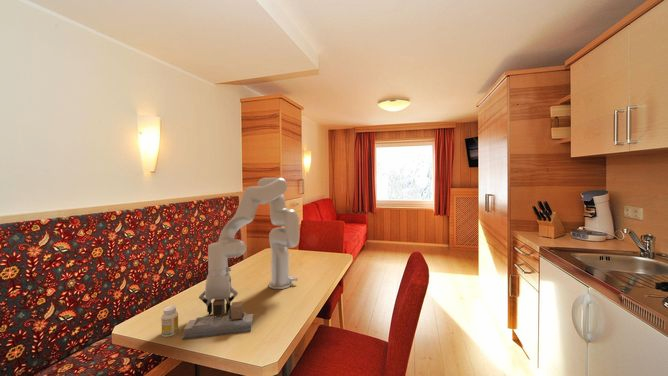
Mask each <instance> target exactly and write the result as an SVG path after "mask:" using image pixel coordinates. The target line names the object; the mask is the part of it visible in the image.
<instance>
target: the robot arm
mask: <svg viewBox="0 0 668 376" xmlns="http://www.w3.org/2000/svg"><path fill="white" fill-rule="evenodd" d="M287 189H288V183H287V181H286V179H284V178H283V177H262V178H260V179H258V181H257V185H253V186H252V185H251V186H247V187H246V188H245V189H244V191H243V192H242V196H241V199H240V201H239V204H238V206H237V209H236V212H235V214H234V215H233V216H232V217H231V218H230V219H229V221H228V222H227V223H226V224H225V225H224V227H223V228H222V230H221V232H220V235H219V238H218V240H217V242H212V243H210V244H208V247H207V259H208V265H207V266H208V268H207V269H208V274H207V276H206V280H205V290H204V291H202V293H201V294H200V295H199V296H198V298H199V300H200V301H202V302H203V303H204V304H205V306H207V307H206V308H207V309H206V310H207V311H206V312H207V313H208V316H210V315H211V314H213V302H212V300H215V299H220V298H225V313H226V314H229V309H230V306H231V302H232V301H233V300H234V299H235V297H237V296H238V294H239V292H238V291H237V290H235V288H233V285H232V277H231V273H230V272H232V267H229V265H228V259H231V258H239V257H241V256H242V255H244V254H245V253H246V250H247V244H246V243H245V242H244V241H243V240H241V239H237V238H235V235H236V234H237V232H238V231H239V230H240V229H241V228H242V227H244V226H246V225H249V223H252V222H253V221H254V218H255V216H256V213H257V210H258V208H259V205H266V204H269V214H270V216H269V217H270V222H271V224H272V225H274V226H277V227H275V228H272V229H271V230H270V232H269V234H268V241H269V245H270V246H269V247H270V255H271V257H270V259H271V261H270V263H271V264H270V265H271V271H270V272H271V281H269V283H268V288H270V289H272V290H273V289H274V290H285V289H287V288H289V287H291V286H292V285H293V282H297V281H298V280H299V279H298V276H295V275H294V276H292V275H290V251H289V248H295V247H297V246H298V244H299V243H300V236H301V234H300V219H299V218H300V217H299V214H298V213H297V212H296V210H294V209H292V208H287V204H286V198H285V195H284V194H285V193H286V191H287ZM231 294H232V295H231Z"/></svg>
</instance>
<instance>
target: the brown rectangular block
mask: <svg viewBox="0 0 668 376" xmlns="http://www.w3.org/2000/svg"><path fill="white" fill-rule="evenodd" d="M225 313H226V300H225V298H220V299H213V302H212V316H215V318H217V317H224V314H225Z"/></svg>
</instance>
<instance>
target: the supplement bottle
mask: <svg viewBox="0 0 668 376" xmlns="http://www.w3.org/2000/svg"><path fill="white" fill-rule="evenodd" d="M178 332H179V312H178V311H177V306H175V305H169V306H167V307H164V308H163V314H162V315H161V336H162V337H165V338H168V337H173V336H174V335H176V334H177V333H178Z"/></svg>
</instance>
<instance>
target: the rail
mask: <svg viewBox="0 0 668 376" xmlns="http://www.w3.org/2000/svg"><path fill="white" fill-rule="evenodd" d="M231 302H232V301H231ZM254 319H255V318H254V314H253V313H247V312H244V301H235V302H234V301H233V302H232V303H231V304H230V309H229V311H228V315H227V316H217V317H215V316H213V315H211V316H210V315H208V316H201V317H199V316H198V317H196V318H195V319H193V320H192V319H191V320H190V319H189V321H188V322H187V324H186V325H185V327H184V329H183V335H182V337H181V340H183V341H184V340H190V339H191V340H192V339H198V338H199V339H200V338H209V337H216V336H224V335H232V334H233V335H234V334H241V333H248V332H249V333H250V332H252V327H253V323H254Z"/></svg>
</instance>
